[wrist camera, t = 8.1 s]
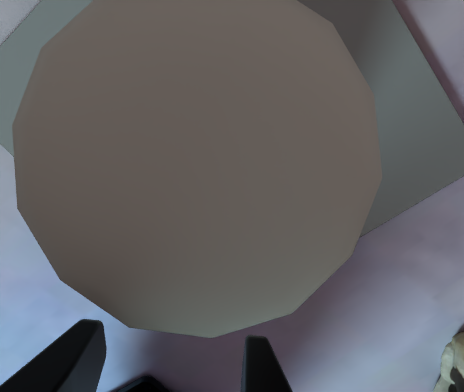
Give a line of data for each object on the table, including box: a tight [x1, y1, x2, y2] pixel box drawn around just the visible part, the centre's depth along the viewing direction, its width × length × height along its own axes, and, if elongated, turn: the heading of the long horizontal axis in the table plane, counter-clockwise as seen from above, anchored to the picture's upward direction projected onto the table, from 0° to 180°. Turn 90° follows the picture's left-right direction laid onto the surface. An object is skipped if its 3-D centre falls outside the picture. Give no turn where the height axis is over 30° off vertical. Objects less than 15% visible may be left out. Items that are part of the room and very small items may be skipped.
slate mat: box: [0, 0, 464, 238], centre depth 17 cm, size 16×16×1 cm
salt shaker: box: [12, 0, 382, 338], centre depth 10 cm, size 6×6×13 cm
